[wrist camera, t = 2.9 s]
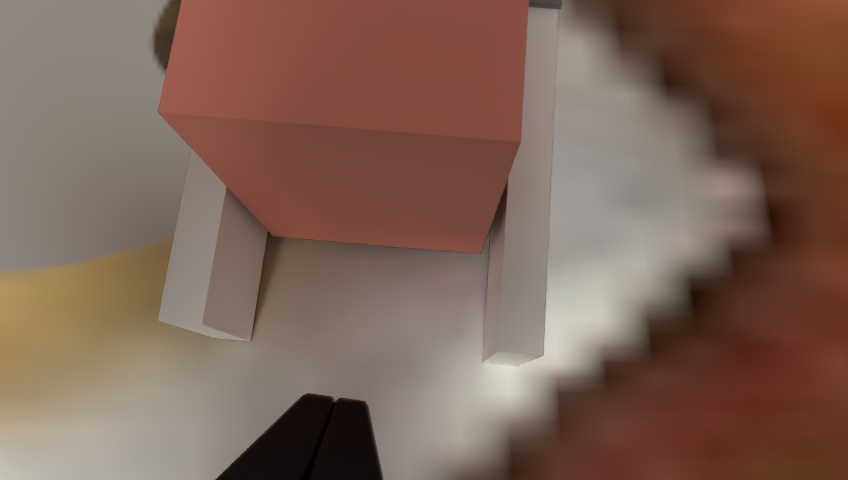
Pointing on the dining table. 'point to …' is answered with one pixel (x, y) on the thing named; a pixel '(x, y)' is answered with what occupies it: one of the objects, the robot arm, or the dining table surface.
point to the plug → (355, 113)
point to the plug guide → (509, 248)
